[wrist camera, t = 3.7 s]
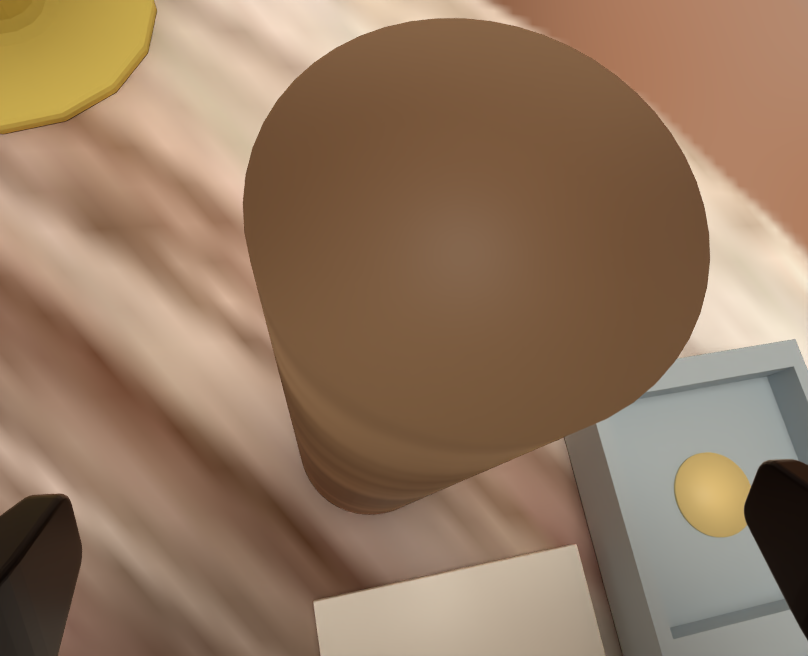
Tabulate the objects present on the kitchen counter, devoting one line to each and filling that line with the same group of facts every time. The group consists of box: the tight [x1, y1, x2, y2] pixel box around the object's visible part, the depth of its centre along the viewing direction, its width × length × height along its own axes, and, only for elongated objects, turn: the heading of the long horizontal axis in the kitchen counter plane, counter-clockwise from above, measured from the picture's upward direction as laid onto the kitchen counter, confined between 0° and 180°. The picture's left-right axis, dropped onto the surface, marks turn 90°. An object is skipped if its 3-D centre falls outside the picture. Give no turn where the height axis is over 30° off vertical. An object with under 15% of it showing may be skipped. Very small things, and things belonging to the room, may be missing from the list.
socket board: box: [564, 339, 808, 656], centre depth 17 cm, size 15×7×2 cm, turn 11°
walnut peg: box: [243, 18, 710, 514], centre depth 12 cm, size 4×4×14 cm
